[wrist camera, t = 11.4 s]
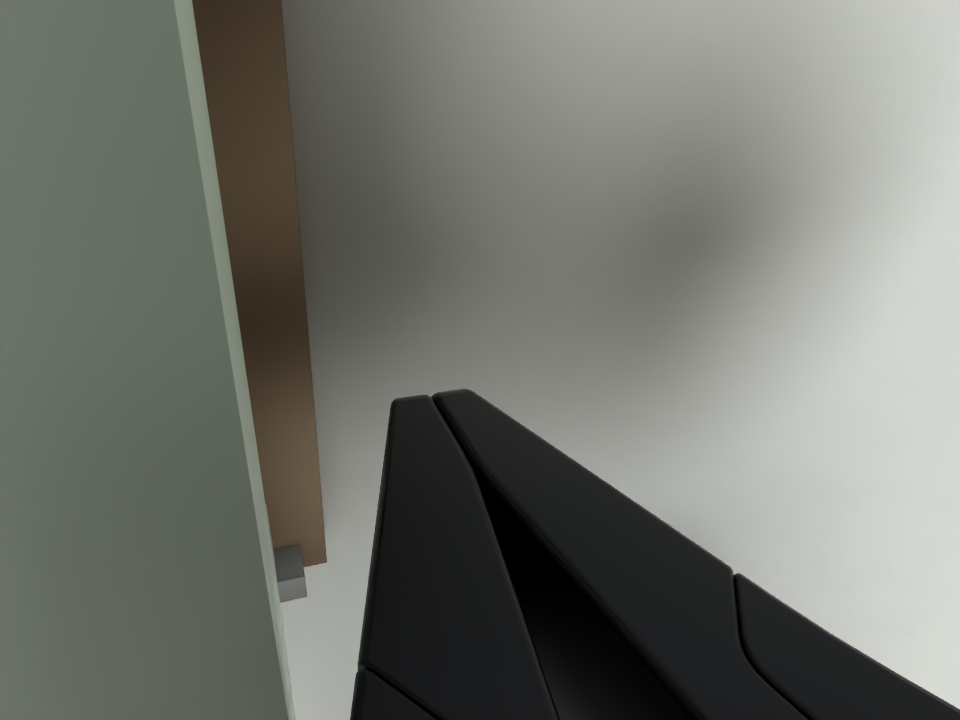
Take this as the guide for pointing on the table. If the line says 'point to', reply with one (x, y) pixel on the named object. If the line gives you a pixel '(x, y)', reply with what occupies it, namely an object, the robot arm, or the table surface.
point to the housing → (124, 385)
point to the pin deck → (266, 265)
